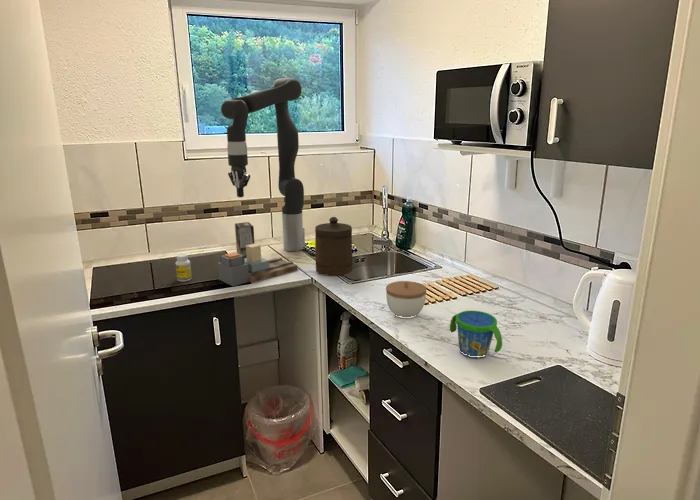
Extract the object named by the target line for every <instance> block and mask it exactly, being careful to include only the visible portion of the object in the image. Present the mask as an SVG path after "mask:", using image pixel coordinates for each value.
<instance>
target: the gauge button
mask: <svg viewBox="0 0 700 500" xmlns="http://www.w3.org/2000/svg"><path fill="white" fill-rule="evenodd" d="M224 255H225V257H227V258H234V257H238V256H240V254H237V252H235V253H234V252H229V253H226V254H224Z"/></svg>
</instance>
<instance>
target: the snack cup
mask: <svg viewBox="0 0 700 500" xmlns="http://www.w3.org/2000/svg"><path fill="white" fill-rule="evenodd" d="M497 323H498V320H497V318H496V317H495V316H494V315H492V314H490V313H487V312H484V311H482V310H481V311H480V310H464V311H461V312H458V313H456V314H455V315H453V316H452V317H451V320H450V323H449V332H451V333H454V332H456V331H457V336H458V337H457V338H458V348H459V349H460V350H459V352H460V351H461V352H463V353H464V354H467V355H470V356H483V355H486V354H487V353H489V350H490V347H491V344H492V341H493V336H494V337H495V341H496V344H495V348H494V353H498V352H500V351H501V349H502V347H503V336H502V333H501V330H500V329H499V327H498V326H497V325H498V324H497ZM487 355H488V354H487ZM487 355H486V356H487Z"/></svg>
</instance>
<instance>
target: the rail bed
mask: <svg viewBox="0 0 700 500" xmlns="http://www.w3.org/2000/svg"><path fill="white" fill-rule="evenodd" d="M268 260H269V265H270V268H267V269H263V270H260V271H256V272H250V271H249V282H248V283H250V284H253V283H259V282H260V281H264V280H268V279H271V278H274V277H277V276H280V275H286V274H288V273H291V272H294V271H297V270H299V269H298V268H299V267H298V264H296V263H294V262H293V261H292V260H290V261H288V260H284V259H283V257H275V258H271V259H268Z"/></svg>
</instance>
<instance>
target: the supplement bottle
mask: <svg viewBox="0 0 700 500" xmlns="http://www.w3.org/2000/svg"><path fill="white" fill-rule="evenodd" d="M191 265H192V264H191V260H189V257H188V254H187V253H180V254H177V255H176V261H175V271H176V272H175V274H176V280H177V281H179V282H189V281H190V280H191V279H192V267H191Z"/></svg>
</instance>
